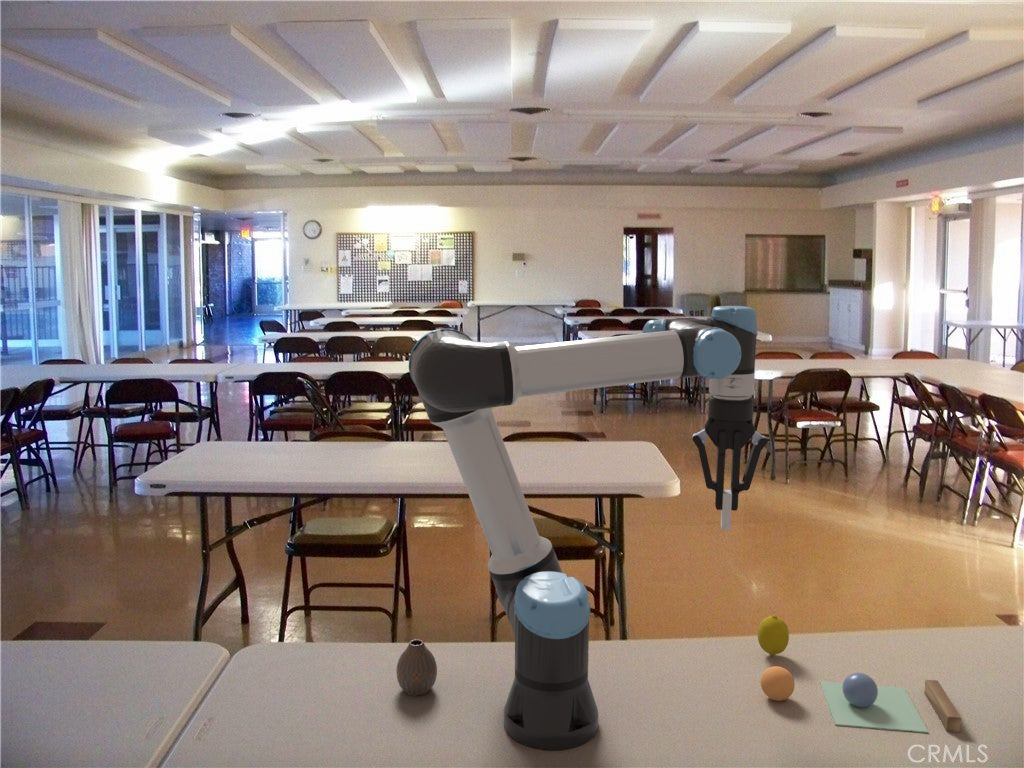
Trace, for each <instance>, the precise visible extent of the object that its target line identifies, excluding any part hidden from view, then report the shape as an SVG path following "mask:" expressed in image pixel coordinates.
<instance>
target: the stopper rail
mask: <svg viewBox="0 0 1024 768" xmlns="http://www.w3.org/2000/svg"><path fill="white" fill-rule="evenodd" d="M924 681H925V682H924V691H923V692H924V695H925V697H926V698H927V700H928V702H929V704H930V706H931V705H932V706H931V707H932V709H933V711H934V710H935V711H934V712H935V714H936V716H937V715H938V716H937V718H938V717H939V718H938V719H939V721H940V720H941V721H940V723H941V722H942V723H941V724H942V726H943V728H944V729H946V730H945V731H946V732H950V733H951V732H952V733H961V724H962V717H961V715H960V713H959V711H958V710H957V708H956V707H955V705H954V704H953V702H952V701H951V699H950V697H949V696H948V694H947V693H946V691H945V689H944V688H943V686H942V685H941V683H940V682H939V680H937V679H935V680H934V679H924Z"/></svg>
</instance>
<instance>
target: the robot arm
mask: <svg viewBox="0 0 1024 768" xmlns="http://www.w3.org/2000/svg"><path fill="white" fill-rule="evenodd" d="M757 319H758V317H757V312H756V310H755V309H754V308H753V307H749V306H745V305H743V306H742V305H722V306H721V305H719V306H715V307H713V308H712V310H711V315H710V317H707V318H701V319H700V318H698V319H696V318H691V319H689V318H670V319H668V318H666V317H665V318H662V319H650V320H648V321H647V322H646V323H645V324H644V326H643V328H642V332H641V333H635V334H634V333H633V334H625V335H616V336H607V337H604V336H603V337H597V338H587V339H579V340H569V341H567V340H566V341H558V342H550V343H549V342H548V343H540V344H530V345H522V346H514V345H512V344H511V343H510V342H508V341H507V340H506V341H505V340H503V341H495V342H494V341H492V342H491V341H490V342H488V341H487V342H486V341H478V340H477V341H476V340H473V339H472V338H471V337H470V336H469V335H468V334H466V333H465V332H463V331H460V330H459V329H454V328H439V329H434V330H432V331H429V332H427V333H426V334H424V335H422V336H421V337H420V338H419V340H418V341H417V342H416V343H415V344H414V346H413V348H412V349H411V351H410V354H409V357H408V372H409V375H410V378H411V380H412V382H413V383H414V384H415V388H416V389H417V392H418V395H419V398H420V400H421V402H422V405H423V408H424V409H425V410H424V411H425V412H426V415H427V417H428V420H429V422H430V424H431V425H434V426H437V427H439V428H440V429H442V430H443V432H444V435H445V438H446V441H447V442H448V445H449V448H450V451H451V453H452V455H453V459H454V461H455V463H456V466H457V469H458V471H459V474H460V475H461V478H462V481H463V483H464V485H465V488H466V491H467V493H468V496H469V499H470V501H471V504H472V506H473V509H474V511H475V514H476V517H477V519H478V521H479V524H480V527H481V530H482V532H483V534H484V536H485V539H486V542H487V545H488V547H489V550H490V552H491V556H490V558H489V560H488V563H487V569H488V571H489V575H490V577H491V579H492V582H493V585H494V587H495V589H496V595H497V598H498V601H499V602H500V604H501V606H502V607H503V610H504V612H505V615H506V617H507V619H508V622H509V624H510V626H511V630H512V632H513V636H514V679H513V680H512V685H511V688H510V690H509V692H508V693H509V694H508V696H507V698H506V702H505V704H504V709H503V727H504V730H505V732H506V733H507V734H508V735H509V736H510V737H511V739H513V740H515V741H517V742H518V743H521V744H522V745H525V746H528V747H532V748H534V749H535V748H536V749H541V750H548V751H550V750H565V749H566V750H567V749H570V748H575V747H577V746H578V747H579V746H581V745H583V744H585V743H587V742H588V741H590V740H591V739H593V738H594V736H595V735H596V733H597V732H598V728H599V710H598V705H597V703H596V700H595V697H594V696H595V695H594V693H593V690H592V688H591V685H590V682H589V642H590V641H589V639H590V637H589V636H590V616H591V605H590V598H589V593H588V590H587V588H586V585H584V583H583V582H581V581H580V580H579V579H577V578H576V577H574V576H569V574H567V573H564V572H563V570H562V568H561V565H560V562H559V559H558V557H557V554H556V552H555V549H554V547H553V544H552V542H551V540H549V538H546V537H545V536H544V537H543V536H541V535H540V534H539V532H538V530H537V526H536V524H535V521H534V519H533V516H532V514H531V511H530V509H529V506H528V503H527V500H526V498H525V495H524V492H523V489H522V487H521V484H520V482H519V480H518V477H517V474H516V472H515V471H516V470H515V468H514V466H513V464H512V461H511V458H510V455H509V452H508V450H507V448H506V445H505V442H504V439H503V437H502V434H501V432H500V429H499V427H498V423H497V421H496V418H495V416H494V413H493V411H492V410H493V408H498V407H505V406H513V405H514V404H515V403H517V401H518V399H519V398H523V397H524V398H525V397H532V396H539V395H549V394H556V393H565V392H566V393H567V392H574V391H583V390H591V389H599V388H608V387H615V386H626V385H633V384H641V383H649V382H651V383H652V382H658V381H667V380H675V379H686V378H695V377H703V378H705V379H709V383H708V393H710V394H711V396H709V398H708V409H707V410H708V412H707V421H706V423H705V425H704V428H703V429H701V430H700V431H698V432H693V433H692V435H691V438H692V442H693V443H694V444H695V446H696V447H697V449H698V453H699V459H700V463H701V468H702V472H703V477H704V482H705V487H706V488H707V489H708V490H713V491H714V492H715V502H714V505H715V509H716V511H720V527H721V530H725V531H731V526H732V525H731V522H732V511H736V512H737V511H738V507H739V494H740V493H741V492H743V491H748V490H750V488H751V484H752V481H753V478H754V475H755V472H756V468H757V465H758V462H759V459H760V455H761V452H762V450H763V449H764V448H765V447H766V445H767V444H768V439H767V437H766V435H764V434H760V433H759V432H757V431H756V427H755V425H754V423H753V419H754V418H753V416H754V399H753V397H751V396H753V395H754V392H755V369H756V368H755V367H756V352H757V351H756V349H757V338H758V337H757V336H758V335H759V334H758V320H757ZM707 436H708V438H709V439H710V440H711V443H713V446H715V447H716V468H715V471H716V472H715V480H713V477H712V474H711V473H712V472H711V469H710V463H709V459H708V455H707V454H708V453H707V450H706V446H705V444H706V443H707ZM751 438H752V439H751ZM749 440H751V443H752V444H753V445H752V447H751V450H750V454H749V457H748V460H747V462H746V466H745V470H744V474H743V476H742V479H741V481H740V475H741V474H740V473H741V472H740V471H741V470H740V469H741V455H742V454H741V453H742V449H743V448H744V447H745V446H746V444H747V443H748V442H749ZM726 450H731V469H730V470H731V471H730V489H724V487H725V486H724V485H725V469H726V468H725V467H726V466H725V464H726V463H725V462H726Z"/></svg>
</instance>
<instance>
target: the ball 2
mask: <svg viewBox="0 0 1024 768" xmlns="http://www.w3.org/2000/svg"><path fill="white" fill-rule="evenodd" d="M842 683H843V686H842V690H843V694H844V696H845V698H846V700H847V701H848V702H849V703H850V704H852V705H854V706H856V707H860V708H864V707H868V706H870V705H872V704H873V703H874V702H875V701H876V699H877V696H878V689H877V686H878V685H877V683H876V682H875V680H874V679H873V678H872V677H870V676H869V675H868V674H866V673H863V672H854V673H851V674H849V675H848V676H846V677H845V679H844V680H843V682H842Z"/></svg>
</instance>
